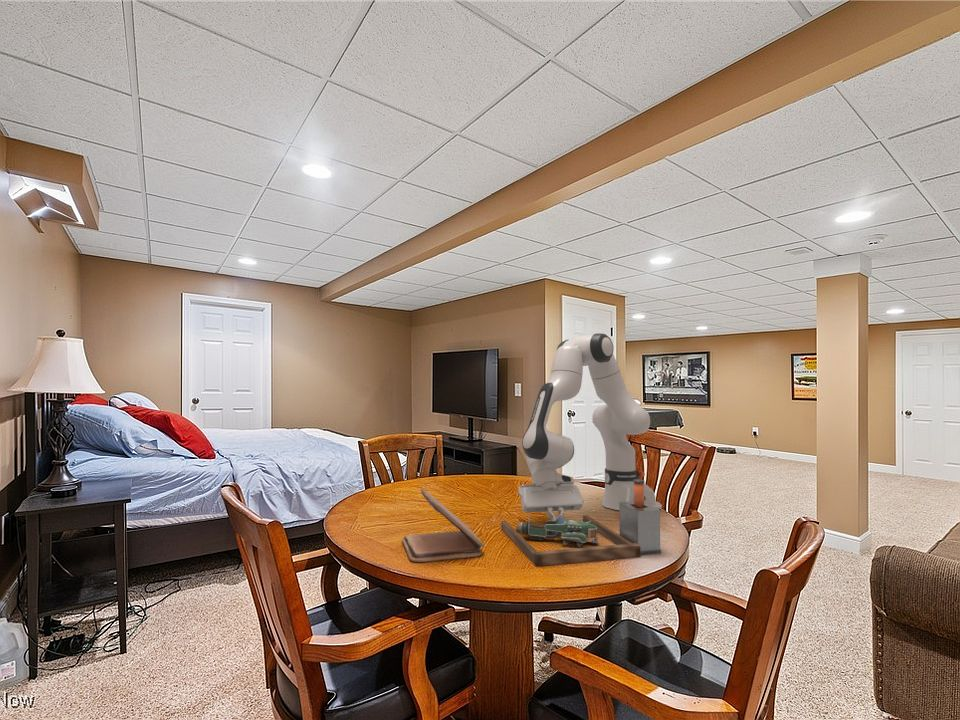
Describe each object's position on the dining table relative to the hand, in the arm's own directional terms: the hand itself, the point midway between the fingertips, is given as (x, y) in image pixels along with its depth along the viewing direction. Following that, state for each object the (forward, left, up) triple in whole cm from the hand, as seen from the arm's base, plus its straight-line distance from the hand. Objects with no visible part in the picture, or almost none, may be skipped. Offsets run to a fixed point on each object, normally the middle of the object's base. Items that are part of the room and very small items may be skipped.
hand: (558, 522), depth 149 cm
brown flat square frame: (0, +4, -4) cm, 6 cm away
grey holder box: (-19, +14, -4) cm, 24 cm away
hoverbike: (+2, +3, -5) cm, 6 cm away
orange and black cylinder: (-19, +14, +7) cm, 25 cm away
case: (+37, +1, -5) cm, 37 cm away
